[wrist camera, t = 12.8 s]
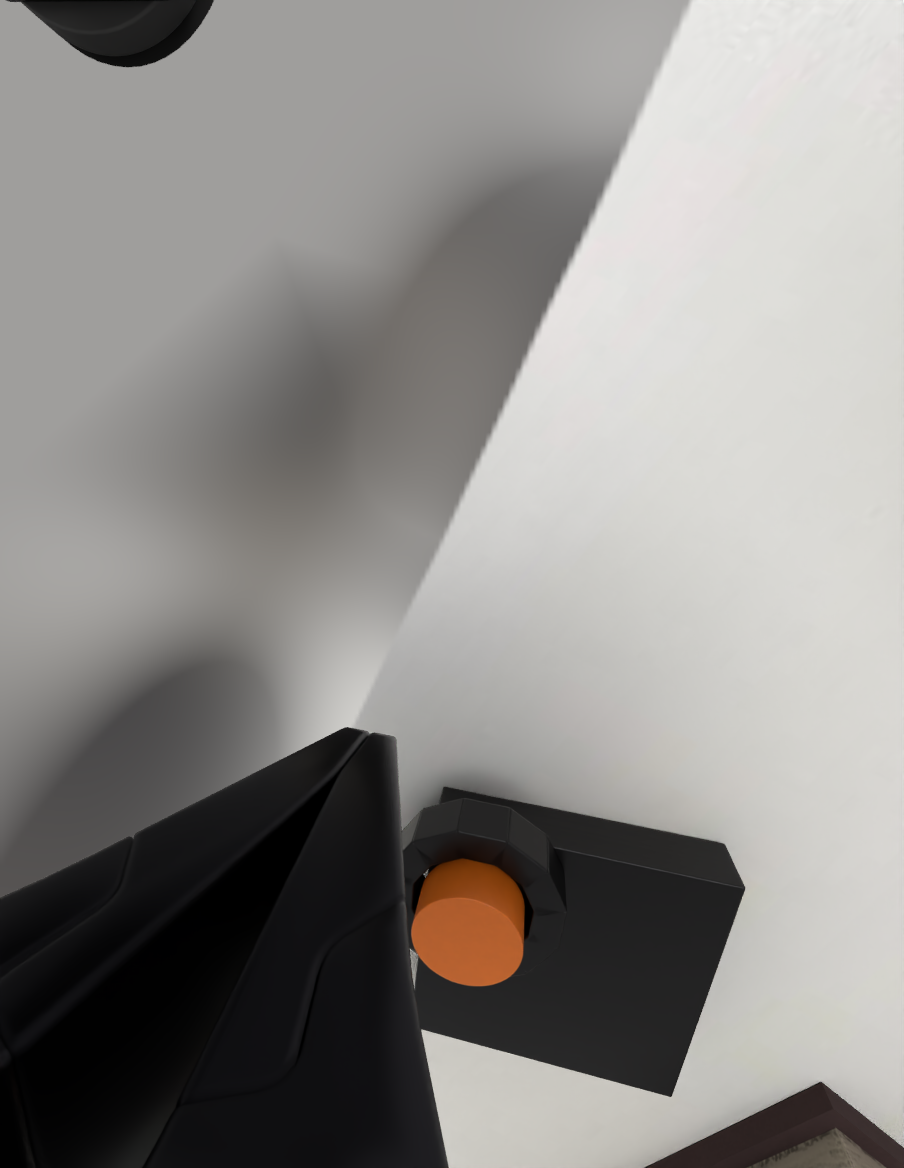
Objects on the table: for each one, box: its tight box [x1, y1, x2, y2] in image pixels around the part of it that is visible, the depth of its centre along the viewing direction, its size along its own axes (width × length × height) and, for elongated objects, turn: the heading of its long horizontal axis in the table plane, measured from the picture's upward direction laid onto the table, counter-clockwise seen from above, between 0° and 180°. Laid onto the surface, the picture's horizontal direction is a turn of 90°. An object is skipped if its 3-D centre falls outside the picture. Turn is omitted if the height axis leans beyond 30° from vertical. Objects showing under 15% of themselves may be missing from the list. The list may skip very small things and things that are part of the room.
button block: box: [402, 787, 745, 1097], centre depth 21 cm, size 14×13×4 cm
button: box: [411, 858, 525, 986], centre depth 18 cm, size 4×4×2 cm
